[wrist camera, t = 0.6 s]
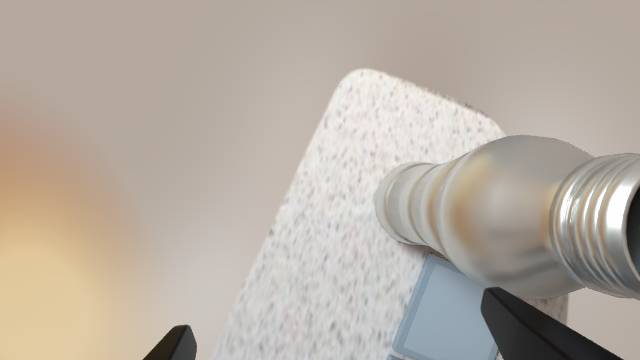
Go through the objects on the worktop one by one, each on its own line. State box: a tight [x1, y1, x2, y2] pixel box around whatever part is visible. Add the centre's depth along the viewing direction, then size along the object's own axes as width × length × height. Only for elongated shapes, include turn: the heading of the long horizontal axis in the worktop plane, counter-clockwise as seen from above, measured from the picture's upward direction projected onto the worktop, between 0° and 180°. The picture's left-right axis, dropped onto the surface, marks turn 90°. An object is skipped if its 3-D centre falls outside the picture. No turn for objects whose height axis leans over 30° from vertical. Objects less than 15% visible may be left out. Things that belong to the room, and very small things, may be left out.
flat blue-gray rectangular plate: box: [392, 253, 498, 360], centre depth 26 cm, size 9×8×1 cm
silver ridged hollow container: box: [374, 135, 640, 300], centre depth 17 cm, size 6×7×20 cm
